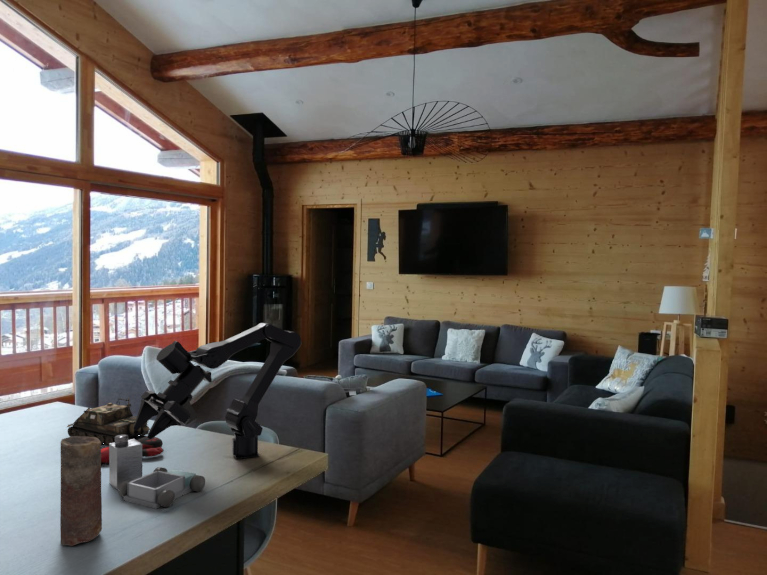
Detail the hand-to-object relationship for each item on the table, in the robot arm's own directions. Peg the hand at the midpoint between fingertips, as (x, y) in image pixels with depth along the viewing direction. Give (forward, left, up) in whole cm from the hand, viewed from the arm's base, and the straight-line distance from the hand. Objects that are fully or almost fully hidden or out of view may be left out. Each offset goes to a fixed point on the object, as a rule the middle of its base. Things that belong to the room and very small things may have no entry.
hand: (141, 434), depth 147 cm
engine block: (+4, +1, -12) cm, 12 cm away
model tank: (+10, -40, -12) cm, 43 cm away
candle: (+11, +29, -12) cm, 33 cm away
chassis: (-5, +11, -12) cm, 17 cm away
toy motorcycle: (+7, -19, -12) cm, 24 cm away
